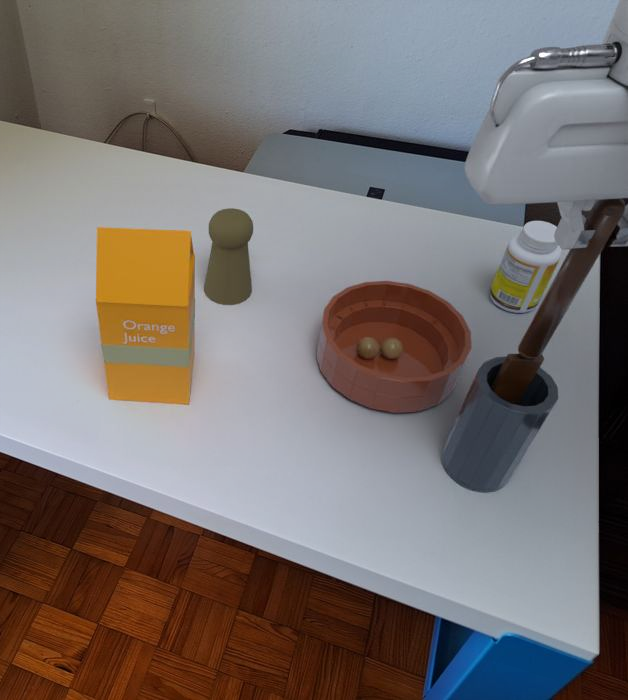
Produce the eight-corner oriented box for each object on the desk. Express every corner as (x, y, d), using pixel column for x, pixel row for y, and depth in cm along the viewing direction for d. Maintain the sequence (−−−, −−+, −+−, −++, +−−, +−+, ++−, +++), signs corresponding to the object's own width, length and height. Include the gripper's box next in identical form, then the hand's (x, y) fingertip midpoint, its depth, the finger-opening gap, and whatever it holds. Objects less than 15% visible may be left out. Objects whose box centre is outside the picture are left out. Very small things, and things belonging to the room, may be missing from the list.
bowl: (430, 312, 82) (442, 277, 78) (477, 411, 71) (494, 376, 67) (304, 319, 82) (309, 284, 78) (332, 420, 71) (340, 385, 67)
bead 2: (396, 333, 74) (388, 332, 77) (380, 347, 74) (372, 347, 77) (411, 349, 74) (402, 348, 77) (395, 364, 74) (386, 362, 77)
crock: (495, 436, 69) (538, 354, 60) (521, 490, 65) (572, 410, 56) (432, 439, 69) (466, 358, 60) (454, 494, 65) (494, 415, 56)
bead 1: (379, 344, 77) (386, 352, 75) (362, 358, 77) (369, 366, 75) (366, 330, 76) (373, 337, 74) (349, 344, 77) (356, 351, 74)
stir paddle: (513, 392, 62) (630, 188, 45) (521, 408, 60) (643, 204, 44) (482, 393, 62) (587, 189, 45) (489, 409, 60) (599, 206, 44)
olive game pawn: (217, 267, 89) (219, 195, 81) (260, 282, 87) (266, 209, 79) (195, 295, 85) (195, 222, 77) (238, 311, 83) (243, 237, 75)
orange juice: (119, 348, 79) (103, 202, 65) (195, 353, 78) (195, 206, 64) (108, 400, 74) (87, 254, 59) (189, 406, 73) (189, 258, 59)
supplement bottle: (529, 285, 85) (561, 216, 77) (542, 316, 81) (577, 246, 73) (482, 283, 85) (510, 215, 78) (493, 314, 81) (523, 245, 74)
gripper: (534, 75, 35) (458, 280, 45) (925, 54, 35) (763, 263, 45) (487, 27, 40) (427, 224, 50) (835, 8, 40) (706, 208, 50)
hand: (591, 242), depth 47 cm, fingers closed on stir paddle, 2 cm apart
